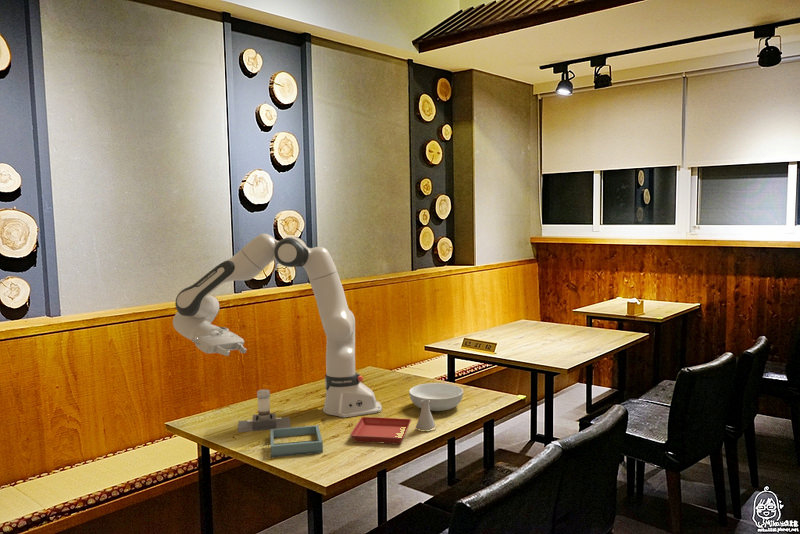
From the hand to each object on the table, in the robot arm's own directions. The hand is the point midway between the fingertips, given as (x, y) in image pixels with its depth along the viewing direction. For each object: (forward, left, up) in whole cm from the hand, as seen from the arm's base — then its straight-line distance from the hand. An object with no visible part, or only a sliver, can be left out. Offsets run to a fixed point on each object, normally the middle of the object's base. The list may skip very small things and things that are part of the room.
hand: (236, 352), depth 224 cm
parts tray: (-19, +30, -25) cm, 44 cm away
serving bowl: (-74, +3, -26) cm, 78 cm away
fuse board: (-9, +9, -25) cm, 28 cm away
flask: (-64, +25, -26) cm, 73 cm away
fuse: (-9, +9, -24) cm, 28 cm away
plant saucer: (-48, +27, -26) cm, 61 cm away
